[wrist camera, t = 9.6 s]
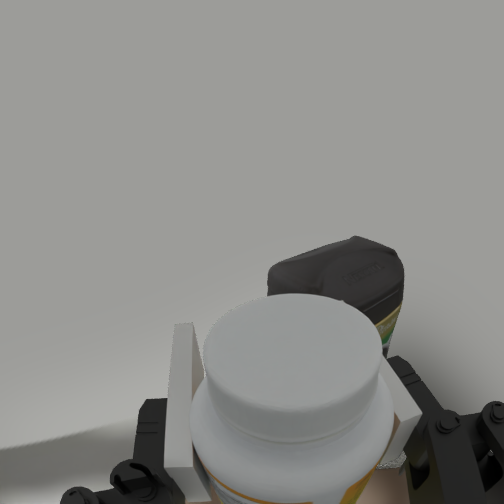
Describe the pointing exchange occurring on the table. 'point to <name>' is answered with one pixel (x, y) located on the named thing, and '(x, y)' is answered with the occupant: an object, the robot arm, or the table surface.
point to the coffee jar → (348, 279)
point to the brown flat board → (366, 489)
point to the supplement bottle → (291, 402)
